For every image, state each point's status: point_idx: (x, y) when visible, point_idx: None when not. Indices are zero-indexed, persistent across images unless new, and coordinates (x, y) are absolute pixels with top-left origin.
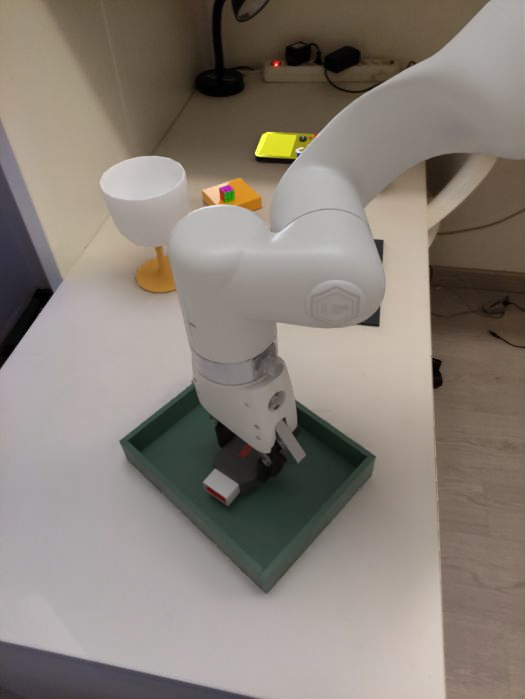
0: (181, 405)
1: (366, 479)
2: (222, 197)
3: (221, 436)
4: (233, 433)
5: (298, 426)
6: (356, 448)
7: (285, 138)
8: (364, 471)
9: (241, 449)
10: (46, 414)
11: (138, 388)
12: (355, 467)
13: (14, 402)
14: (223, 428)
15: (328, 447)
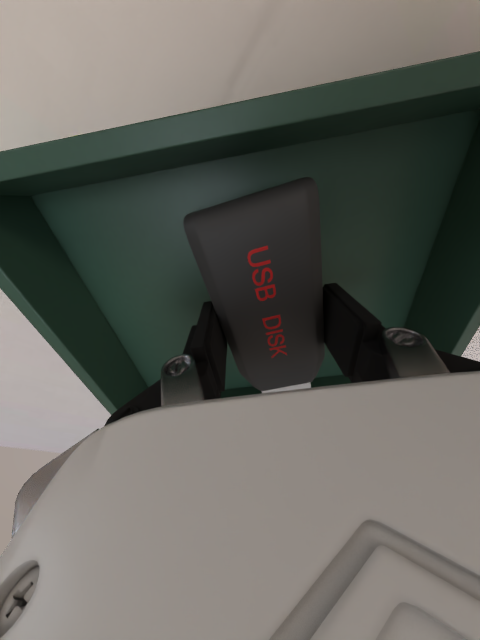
0: (95, 352)
1: None
2: None
3: (225, 373)
4: (220, 332)
5: (316, 186)
6: None
7: None
8: None
9: (267, 346)
10: (48, 430)
11: (24, 352)
12: (455, 114)
13: (19, 443)
14: (222, 384)
15: (364, 131)
